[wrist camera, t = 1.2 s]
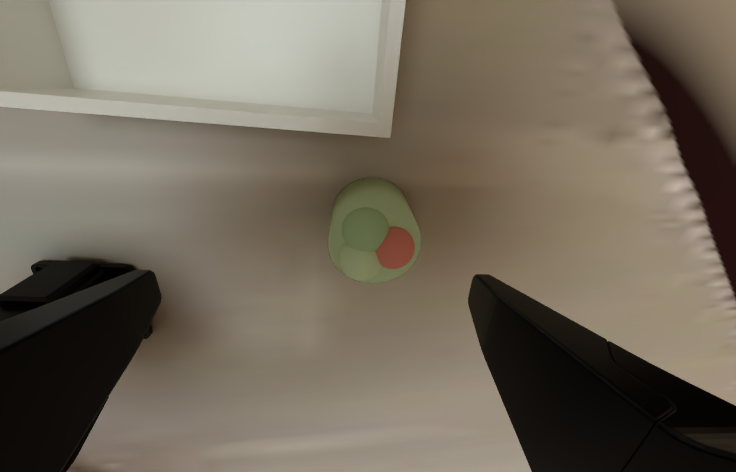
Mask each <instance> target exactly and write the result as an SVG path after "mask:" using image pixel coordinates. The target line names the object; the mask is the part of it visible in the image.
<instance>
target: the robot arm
mask: <svg viewBox="0 0 736 472" xmlns="http://www.w3.org/2000/svg"><path fill="white" fill-rule="evenodd" d="M31 270H32V272H33V275H32V276H30V277H28V278H27V279H25V280H23V281H22V282H20V283H18V284H17V285H15V286H13V287H12V288H10V289H8V290H7V291H5V292H4V293H2V294H0V472H66V471H67V470H68V469H69V467H70V466H71V464H72V463H73V462H74V460H75V458H76V457H77V455H78V454H79V452H80V450H81V448H82V446H83V444H84V442H85V441H86V439H87V437H88V435H89V433H90V431H91V429H92V428H93V426H94V424H95V422H96V420H97V418H98V416H99V414H100V413H101V411H102V409H103V407H104V405H105V403H106V401H107V400H108V398H109V397H108V396H109V394H110V393H111V391H112V390H113V388H114V387H115V385H116V383H117V382H118V380H119V379H120V377H121V375H122V374H123V372H124V371H125V369H126V368H127V366H128V364H129V363H130V361H131V360H132V358H133V356H134V355H135V353H136V351H137V349H138V347H139V345H140V344H141V342H142V340H143V339H147V338H149V336H150V335H151V334H152V332H153V330H152V327H151V321H152V319H153V317H154V315H155V313H156V311H157V309H158V307H159V305H160V303H161V292H160V289H159V286H158V282H157V279H156V276H155V274H154V272H152V271H151V270H135V269H134V268H133V267H132V266H130V265H123V264H101V263H95V262H79V261H39V262H37V263H35V264H33V265H32V266H31ZM125 271H126V272H128V273H126V272H125ZM468 304H469V308H470V312H471V315H472V319H473V322H474V326H475V329H476V333H477V336H478V340H479V343H480V346H481V349H482V352H483V355H484V358H485V360H486V362H487V365H488V367H489V370H490V372H491V374H492V377H493V379H494V382H495V384H496V386H497V389H498V391H499V394H500V396H501V399H502V401H503V403H504V406H505V408H506V411H507V413H508V415H509V418H510V420H511V423H512V425H513V427H514V430H515V432H516V435H517V437H518V439H519V442H520V444H521V447H522V449H523V451H524V454H525V456H526V459H527V461H528V463H529V466H530V468H531V471H532V472H736V406H735V405H733V404H731V403H729V402H727V401H725V400H723V399H721V398H719V397H717V396H715V395H713V394H711V393H709V392H707V391H704V390H702V389H700V388H698V387H696V386H694V385H692V384H690V383H688V382H686V381H684V380H682V379H680V378H678V377H676V376H674V375H672V374H670V373H668V372H666V371H664V370H663V369H661V368H659V367H657V366H655V365H653V364H651V363H649V362H647V361H645V360H643V359H641V358H640V357H638V356H636V355H634V354H632V353H630V352H628V351H626V350H625V349H623V348H621V347H619V346H617V345H616V344H614V343H612V342H610V341H608V342H607V340H606V339H605V338H603V337H601V336H599V335H597V334H596V333H594V332H592V331H590V330H588V329H587V328H585V327H583V326H581V325H579V324H578V323H576V322H574V321H572V320H570V319H568V318H567V317H565V316H563V315H561V314H559V313H558V312H556V311H554V310H552V309H550V308H549V307H547V306H545V305H543V304H541V303H540V302H538V301H536V300H534V299H532V298H530V297H529V296H527V295H525V294H523V293H521V292H520V291H518V290H516V289H514V288H512V287H511V286H509V285H507V284H505V283H503V282H502V281H500V280H498V279H496V278H494V277H492V276H491V275H487V274H476V275H475V276H474V277H473V279H472V284H471V288H470V292H469V297H468Z"/></svg>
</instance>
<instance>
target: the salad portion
mask: <svg viewBox="0 0 736 472" xmlns="http://www.w3.org/2000/svg"><path fill="white" fill-rule="evenodd" d="M420 247H421V235H420V230H419V227H418V225H417V223H416V220H415V218H414V216H413V214H412V212H411V210H410V207H409V205H408V203H407V201H406V199H405V197H404V195H403V194H402V192H401V191H400V190H399V189H398V188H397V187H396V186H395V185H393V184H392V183H390V182H388V181H386V180H383V179H379V178H363V179H359V180H357V181H354V182H352V183H350V184H349V185H347V186H346V187H345V188H344V189H343V190H342V191H341V192H340V193H339V194H338V196H337V198H336V200H335V202H334V205H333V210H332V217H331V224H330V231H329V237H328V249H329V254H330V257H331V259H332V261H333V263H334V264H335V266H336V267H337V268H338V269H339V270H340V271H341V272H342V273H343V274H344V275H346V276H348V277H349V278H351V279H353V280H356V281H359V282H363V283H383V282H387V281H390V280H393V279H395V278H397V277H399V276H401V275H402V274H404V273H405V272H406V271H407V270H408V269H409V268H410V267H411V266H412V265H413V263H414V262H415V260H416V259H417V257H418V254H419V251H420Z"/></svg>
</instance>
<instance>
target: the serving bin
mask: <svg viewBox="0 0 736 472" xmlns="http://www.w3.org/2000/svg"><path fill="white" fill-rule="evenodd" d="M405 3H406V0H0V107H12V108H25V109H37V110H49V111H62V112H74V113H86V114H99V115H111V116H123V117H136V118H148V119H161V120H173V121H185V122H198V123H210V124H222V125H235V126H247V127H260V128H272V129H284V130H297V131H309V132H321V133H334V134H346V135H358V136H371V137H383V138H390V137H391V128H392V119H393V110H394V101H395V92H396V83H397V74H398V66H399V57H400V48H401V39H402V30H403V21H404V12H405Z"/></svg>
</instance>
